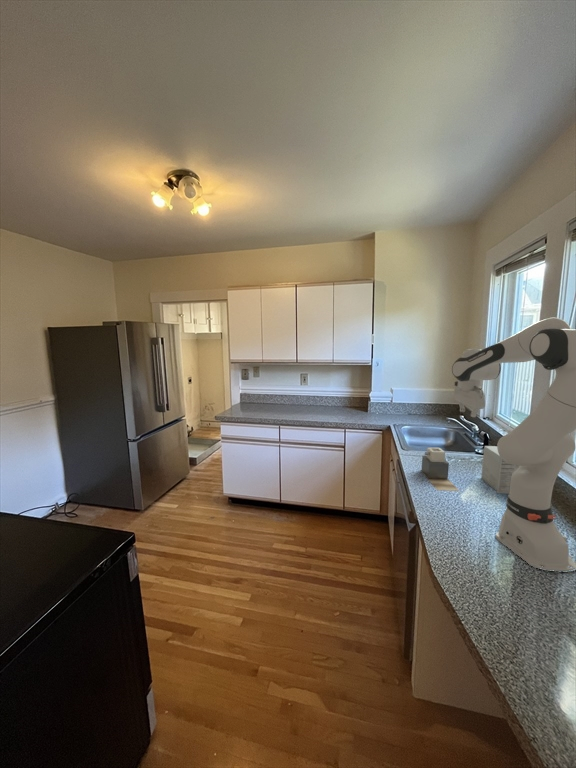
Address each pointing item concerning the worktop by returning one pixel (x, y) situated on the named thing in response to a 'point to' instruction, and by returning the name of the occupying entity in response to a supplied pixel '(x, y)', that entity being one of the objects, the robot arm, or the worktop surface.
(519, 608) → the worktop surface
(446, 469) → the stepped grey block
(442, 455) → the pump housing
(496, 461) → the supplement box
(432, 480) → the board
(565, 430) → the robot arm
